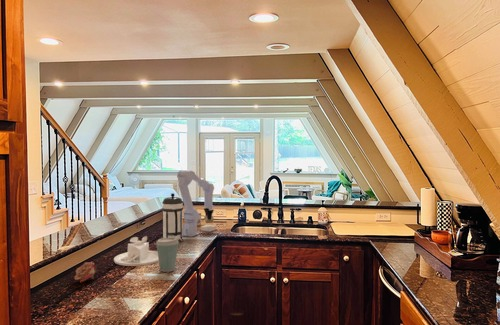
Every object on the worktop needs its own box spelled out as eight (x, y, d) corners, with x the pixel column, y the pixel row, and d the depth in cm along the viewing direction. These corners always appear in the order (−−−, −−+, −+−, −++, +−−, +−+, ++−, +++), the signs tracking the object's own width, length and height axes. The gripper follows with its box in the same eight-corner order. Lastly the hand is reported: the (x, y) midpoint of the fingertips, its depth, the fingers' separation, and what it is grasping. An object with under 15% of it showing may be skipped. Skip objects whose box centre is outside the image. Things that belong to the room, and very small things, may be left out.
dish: (113, 255, 203) (113, 234, 203) (160, 251, 212) (160, 231, 211) (114, 268, 180) (113, 245, 180) (166, 263, 189) (166, 241, 188)
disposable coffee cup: (156, 274, 171) (156, 242, 170) (155, 267, 181) (155, 236, 181) (179, 272, 174) (179, 240, 173) (177, 265, 184) (177, 235, 184)
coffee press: (154, 242, 230) (154, 194, 229) (171, 237, 244) (171, 191, 243) (176, 245, 222) (176, 195, 221) (192, 240, 236) (192, 193, 235)
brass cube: (213, 222, 265) (213, 215, 265) (206, 223, 263) (206, 216, 263) (211, 221, 270) (211, 214, 269) (205, 221, 268) (205, 215, 268)
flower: (95, 271, 170) (84, 258, 167) (105, 271, 164) (94, 258, 162) (79, 288, 164) (67, 275, 161) (89, 288, 158) (77, 276, 155)
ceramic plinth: (210, 232, 261) (210, 227, 261) (200, 230, 265) (200, 226, 265) (216, 229, 268) (216, 225, 268) (207, 228, 272) (207, 224, 272)
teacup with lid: (189, 226, 280) (189, 210, 280) (189, 223, 289) (189, 208, 289) (205, 225, 281) (205, 210, 281) (205, 223, 290) (205, 208, 290)
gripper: (216, 201, 260) (216, 220, 261) (211, 198, 274) (211, 216, 274) (206, 201, 258) (206, 221, 258) (202, 198, 272) (202, 217, 272)
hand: (208, 218), depth 266 cm, fingers closed on brass cube, 5 cm apart
